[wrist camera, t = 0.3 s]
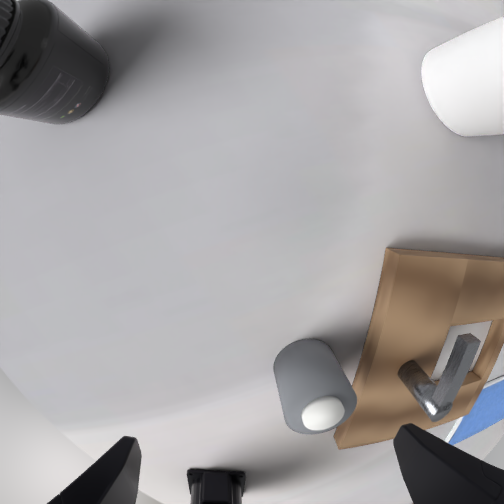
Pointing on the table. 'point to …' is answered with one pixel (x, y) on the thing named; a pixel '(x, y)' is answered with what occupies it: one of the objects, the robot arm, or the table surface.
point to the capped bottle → (313, 387)
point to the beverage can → (468, 81)
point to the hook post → (442, 395)
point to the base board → (422, 337)
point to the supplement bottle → (47, 64)
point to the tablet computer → (481, 412)
